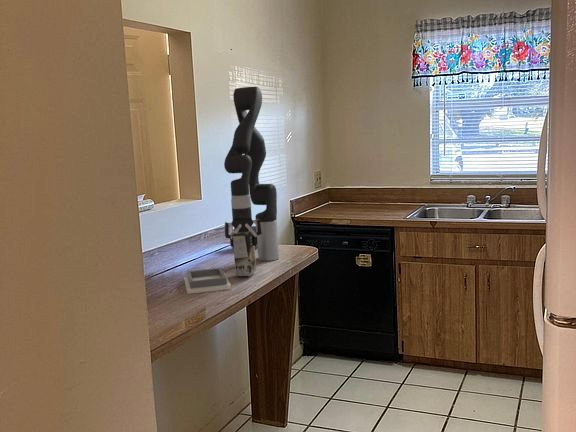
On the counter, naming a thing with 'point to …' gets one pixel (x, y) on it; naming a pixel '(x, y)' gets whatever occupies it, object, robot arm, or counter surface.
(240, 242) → the coffee box
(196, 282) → the socket stand
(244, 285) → the counter surface
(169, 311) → the counter surface
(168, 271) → the counter surface
